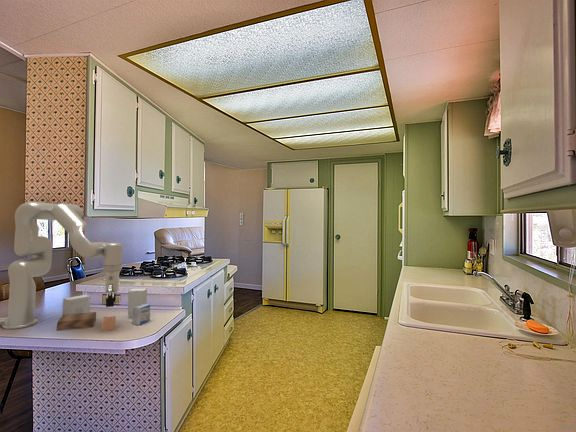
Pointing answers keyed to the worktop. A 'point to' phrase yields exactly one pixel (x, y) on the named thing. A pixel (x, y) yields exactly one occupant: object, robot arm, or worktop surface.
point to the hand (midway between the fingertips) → (110, 304)
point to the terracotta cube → (108, 323)
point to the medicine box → (141, 314)
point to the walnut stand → (76, 321)
